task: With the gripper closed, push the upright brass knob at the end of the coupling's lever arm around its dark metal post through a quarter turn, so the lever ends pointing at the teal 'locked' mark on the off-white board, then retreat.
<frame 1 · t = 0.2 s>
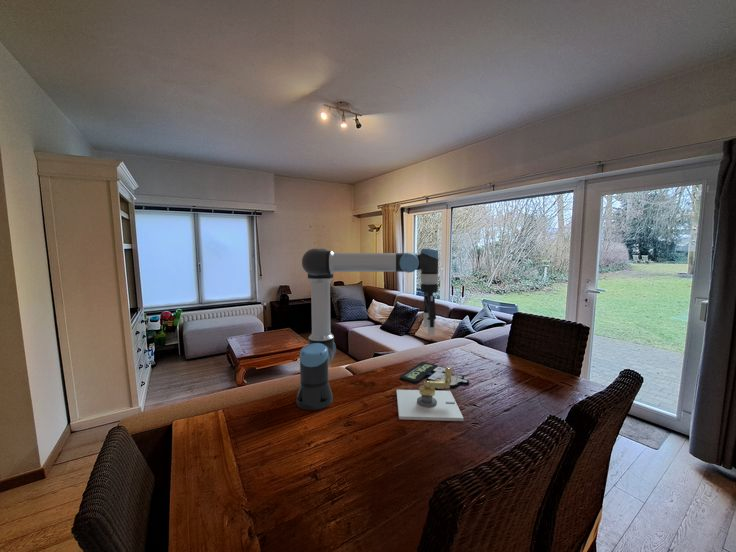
hand: (428, 330, 133), 28 cm above the table, fingers open, 13 cm apart
post board: (426, 405, 122), on the table
coupling: (435, 380, 121), point 11 cm above the table, hinge at 0.0°
sign: (437, 379, 149), on the table
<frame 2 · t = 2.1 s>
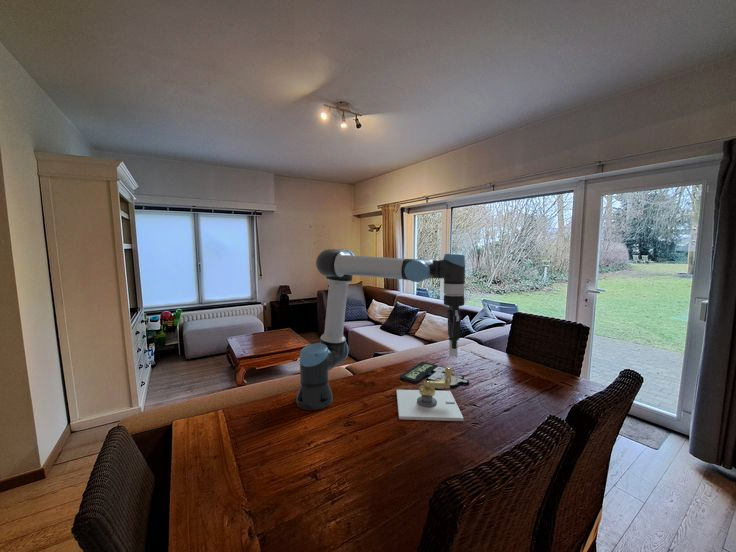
hand: (453, 355, 113), 23 cm above the table, fingers closed
nothing on the table moved.
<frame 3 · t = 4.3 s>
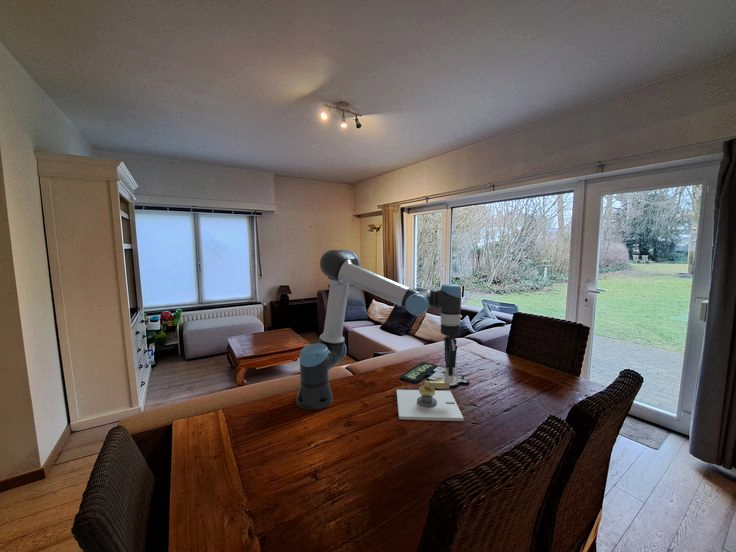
hand: (449, 382, 118), 11 cm above the table, fingers closed
coupling: (435, 380, 121), point 11 cm above the table, hinge at 0.7°, touching gripper
everything else where it was.
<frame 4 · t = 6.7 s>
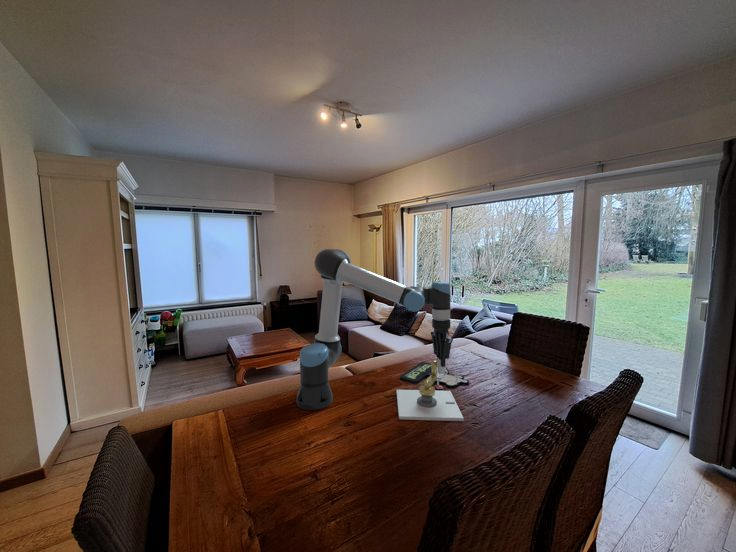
hand: (441, 373, 126), 12 cm above the table, fingers closed
coupling: (429, 377, 124), point 11 cm above the table, hinge at 61.3°, touching gripper
everything else where it was.
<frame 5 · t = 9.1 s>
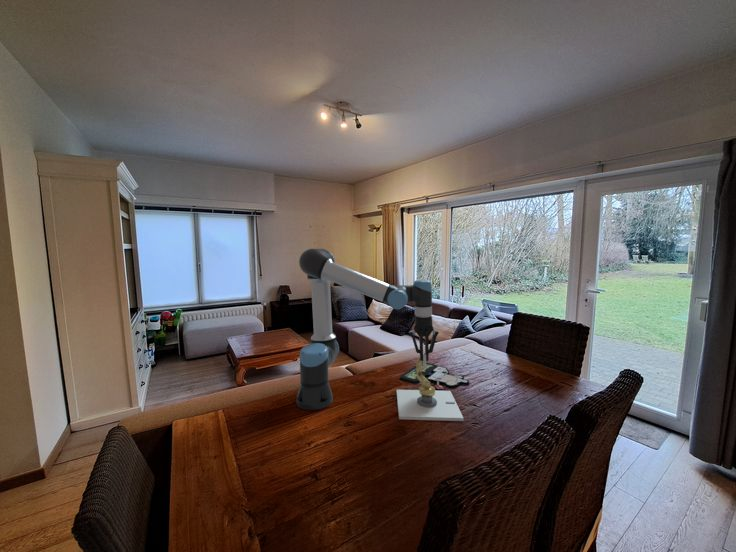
hand: (424, 367, 131), 12 cm above the table, fingers closed
coupling: (424, 377, 125), point 11 cm above the table, hinge at 105.7°, touching gripper
everything else where it was.
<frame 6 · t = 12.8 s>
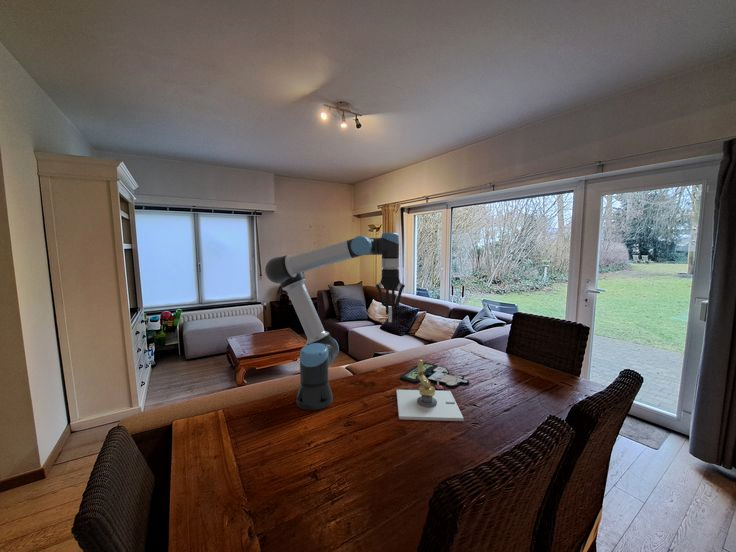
hand: (390, 321, 132), 32 cm above the table, fingers closed
coupling: (424, 377, 125), point 11 cm above the table, hinge at 101.8°
everything else where it was.
at the end: coupling at +102° (first picture: +0°); the gripper is holding nothing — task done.
